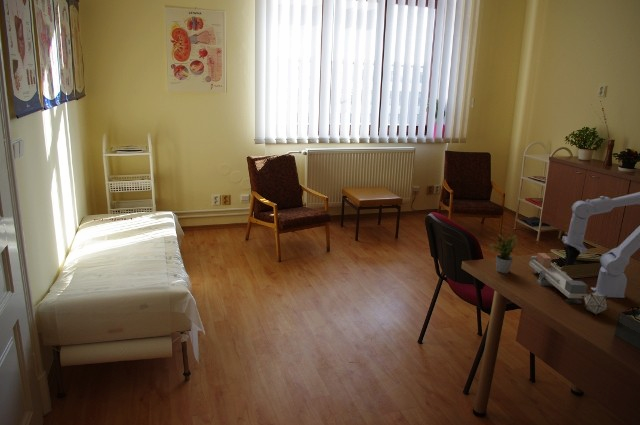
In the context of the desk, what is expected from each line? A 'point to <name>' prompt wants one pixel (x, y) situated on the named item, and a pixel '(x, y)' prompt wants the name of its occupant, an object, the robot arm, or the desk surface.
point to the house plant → (504, 254)
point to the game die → (595, 302)
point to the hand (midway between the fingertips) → (569, 264)
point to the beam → (560, 280)
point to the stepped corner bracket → (547, 283)
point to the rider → (544, 260)
